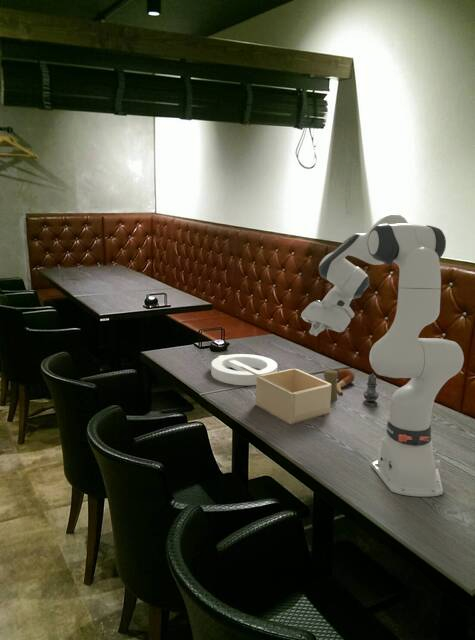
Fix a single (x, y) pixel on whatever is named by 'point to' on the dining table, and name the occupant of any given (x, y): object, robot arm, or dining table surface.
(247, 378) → the ring with crossbar
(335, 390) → the cork
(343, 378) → the smoking pipe
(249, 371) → the carton flap
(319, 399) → the carton
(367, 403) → the grey chess piece
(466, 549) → the dining table surface
